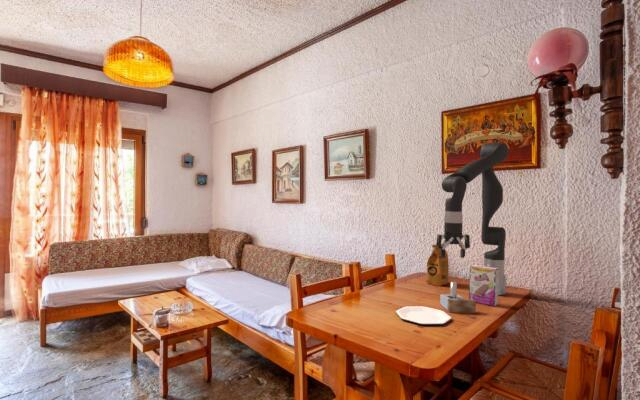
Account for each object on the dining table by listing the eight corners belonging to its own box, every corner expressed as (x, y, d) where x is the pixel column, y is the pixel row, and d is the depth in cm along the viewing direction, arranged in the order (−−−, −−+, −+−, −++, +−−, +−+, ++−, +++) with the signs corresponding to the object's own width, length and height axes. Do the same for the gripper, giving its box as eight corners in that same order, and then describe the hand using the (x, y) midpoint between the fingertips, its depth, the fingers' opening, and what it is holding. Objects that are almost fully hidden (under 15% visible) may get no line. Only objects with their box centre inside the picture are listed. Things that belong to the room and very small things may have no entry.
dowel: (454, 304, 149) (455, 282, 149) (457, 306, 146) (458, 283, 146) (448, 304, 149) (449, 281, 149) (451, 306, 146) (452, 283, 146)
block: (458, 304, 152) (458, 294, 152) (466, 310, 144) (466, 299, 144) (440, 304, 151) (440, 294, 151) (447, 310, 143) (447, 299, 143)
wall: (473, 310, 144) (473, 299, 144) (475, 312, 142) (475, 300, 142) (447, 310, 143) (447, 298, 143) (449, 312, 141) (449, 300, 141)
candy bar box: (468, 301, 157) (469, 265, 157) (472, 299, 161) (473, 264, 161) (494, 307, 150) (495, 269, 149) (498, 304, 153) (499, 268, 153)
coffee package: (423, 283, 189) (423, 243, 189) (434, 280, 198) (435, 242, 198) (439, 287, 182) (440, 245, 182) (450, 283, 191) (451, 244, 190)
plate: (388, 318, 134) (388, 314, 134) (411, 306, 149) (411, 303, 149) (437, 331, 121) (437, 327, 121) (457, 317, 136) (457, 314, 136)
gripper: (440, 222, 149) (440, 259, 149) (473, 222, 149) (472, 259, 150) (434, 220, 156) (434, 256, 157) (465, 220, 157) (464, 256, 157)
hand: (452, 257), depth 153 cm, fingers open, 8 cm apart
